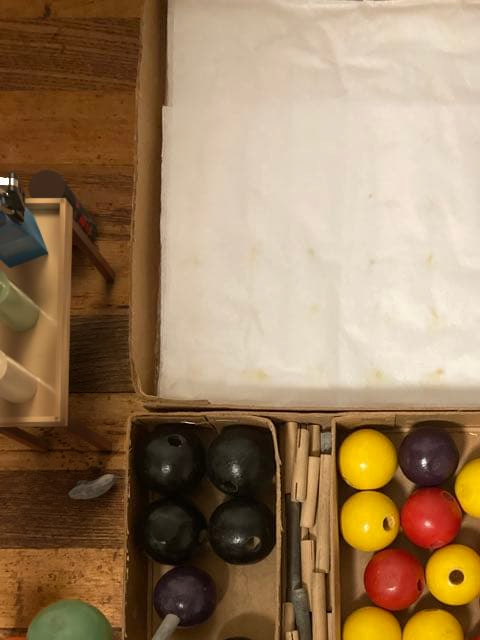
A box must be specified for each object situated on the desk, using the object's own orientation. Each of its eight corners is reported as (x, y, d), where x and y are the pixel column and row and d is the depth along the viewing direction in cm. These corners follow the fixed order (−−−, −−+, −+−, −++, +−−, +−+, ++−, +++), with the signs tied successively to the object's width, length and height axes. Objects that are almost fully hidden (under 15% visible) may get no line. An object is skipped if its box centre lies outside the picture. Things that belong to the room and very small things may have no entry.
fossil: (116, 471, 147) (107, 466, 142) (123, 489, 146) (114, 485, 142) (71, 488, 146) (60, 484, 141) (78, 507, 146) (67, 503, 141)
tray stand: (34, 455, 147) (-38, 422, 122) (40, 268, 150) (-30, 198, 125) (115, 455, 147) (59, 421, 122) (118, 267, 150) (65, 197, 125)
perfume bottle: (34, 216, 127) (-3, 174, 115) (48, 253, 127) (13, 215, 115) (-5, 231, 127) (-46, 191, 115) (9, 268, 126) (-30, 231, 114)
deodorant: (60, 242, 150) (24, 201, 136) (67, 211, 151) (32, 167, 136) (93, 249, 150) (60, 208, 136) (100, 217, 151) (68, 173, 136)
